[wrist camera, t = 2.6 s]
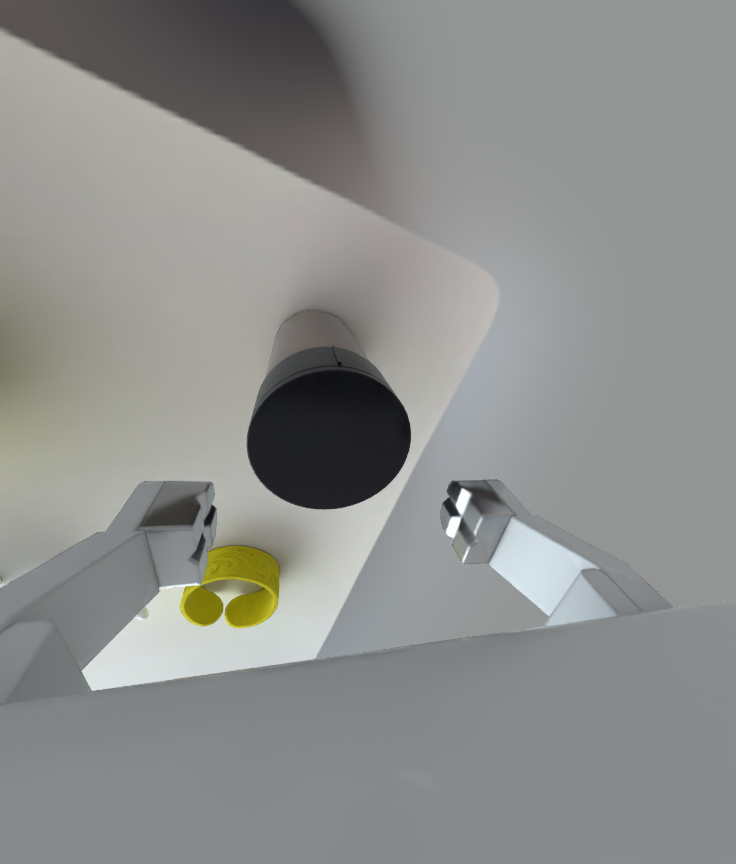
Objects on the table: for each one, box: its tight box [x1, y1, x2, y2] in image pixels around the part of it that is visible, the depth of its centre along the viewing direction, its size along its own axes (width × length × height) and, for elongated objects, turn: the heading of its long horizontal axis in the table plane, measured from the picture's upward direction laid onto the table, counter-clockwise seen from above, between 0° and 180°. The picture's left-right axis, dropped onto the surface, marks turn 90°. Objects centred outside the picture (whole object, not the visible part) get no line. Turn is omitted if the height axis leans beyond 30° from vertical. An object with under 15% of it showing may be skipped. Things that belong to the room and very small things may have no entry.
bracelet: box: [180, 546, 280, 628], centre depth 28 cm, size 7×8×3 cm
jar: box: [265, 310, 369, 378], centre depth 16 cm, size 5×5×12 cm
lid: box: [247, 345, 411, 509], centre depth 12 cm, size 6×6×3 cm
